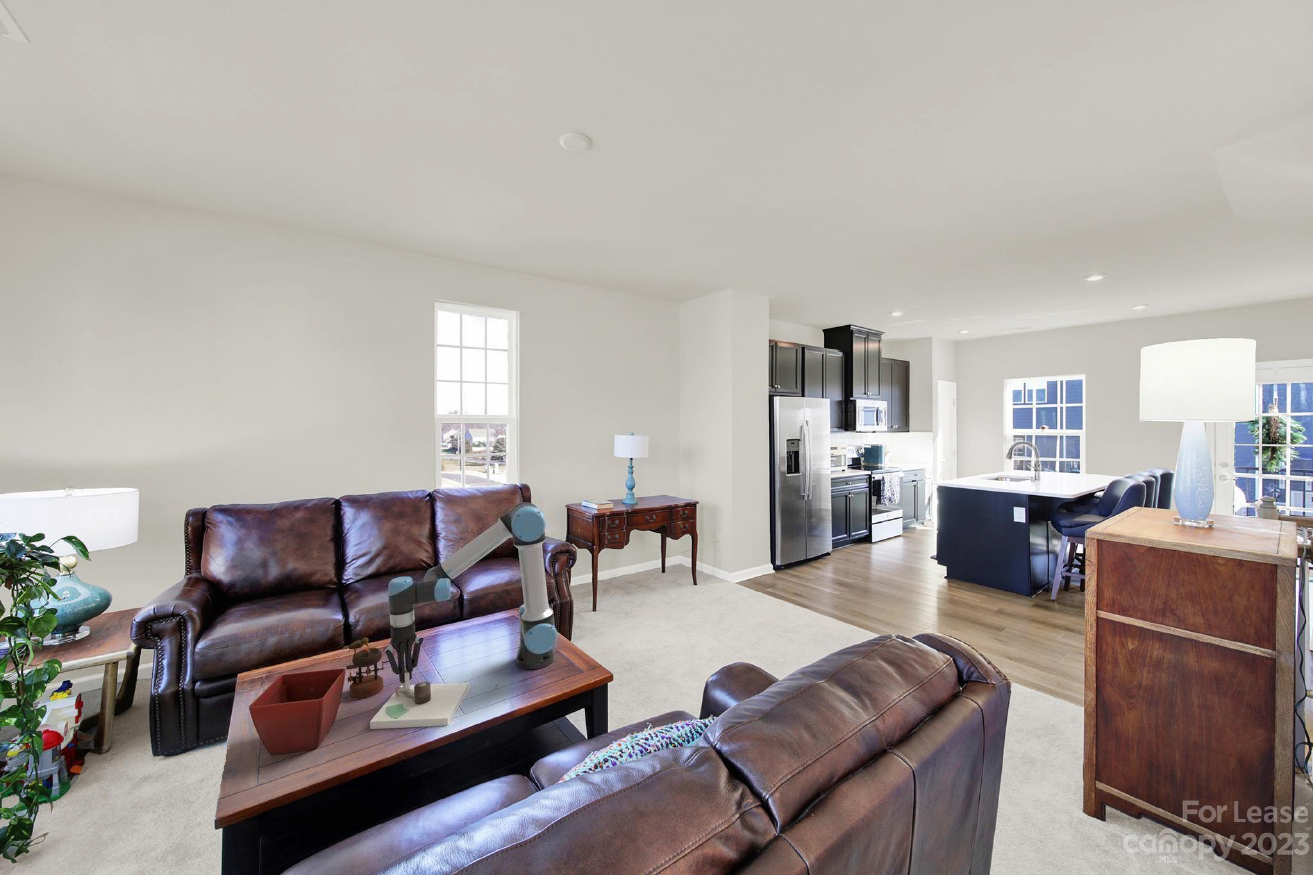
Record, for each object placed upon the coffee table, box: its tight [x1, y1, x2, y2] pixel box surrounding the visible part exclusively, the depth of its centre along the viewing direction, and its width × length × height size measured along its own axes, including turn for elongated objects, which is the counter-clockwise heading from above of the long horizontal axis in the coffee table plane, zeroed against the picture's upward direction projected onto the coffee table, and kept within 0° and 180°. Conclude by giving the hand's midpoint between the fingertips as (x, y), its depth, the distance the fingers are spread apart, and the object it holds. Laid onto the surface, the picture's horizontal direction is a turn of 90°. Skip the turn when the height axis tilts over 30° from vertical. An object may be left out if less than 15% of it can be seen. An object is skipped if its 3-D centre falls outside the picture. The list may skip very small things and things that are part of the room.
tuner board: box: [369, 682, 470, 730], centre depth 175 cm, size 24×22×3 cm
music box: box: [342, 637, 390, 700], centre depth 186 cm, size 15×11×20 cm
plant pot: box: [248, 667, 347, 756], centre depth 158 cm, size 19×19×17 cm
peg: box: [394, 681, 431, 704], centre depth 176 cm, size 14×5×5 cm, turn 71°
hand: (406, 690), depth 179 cm, fingers closed
